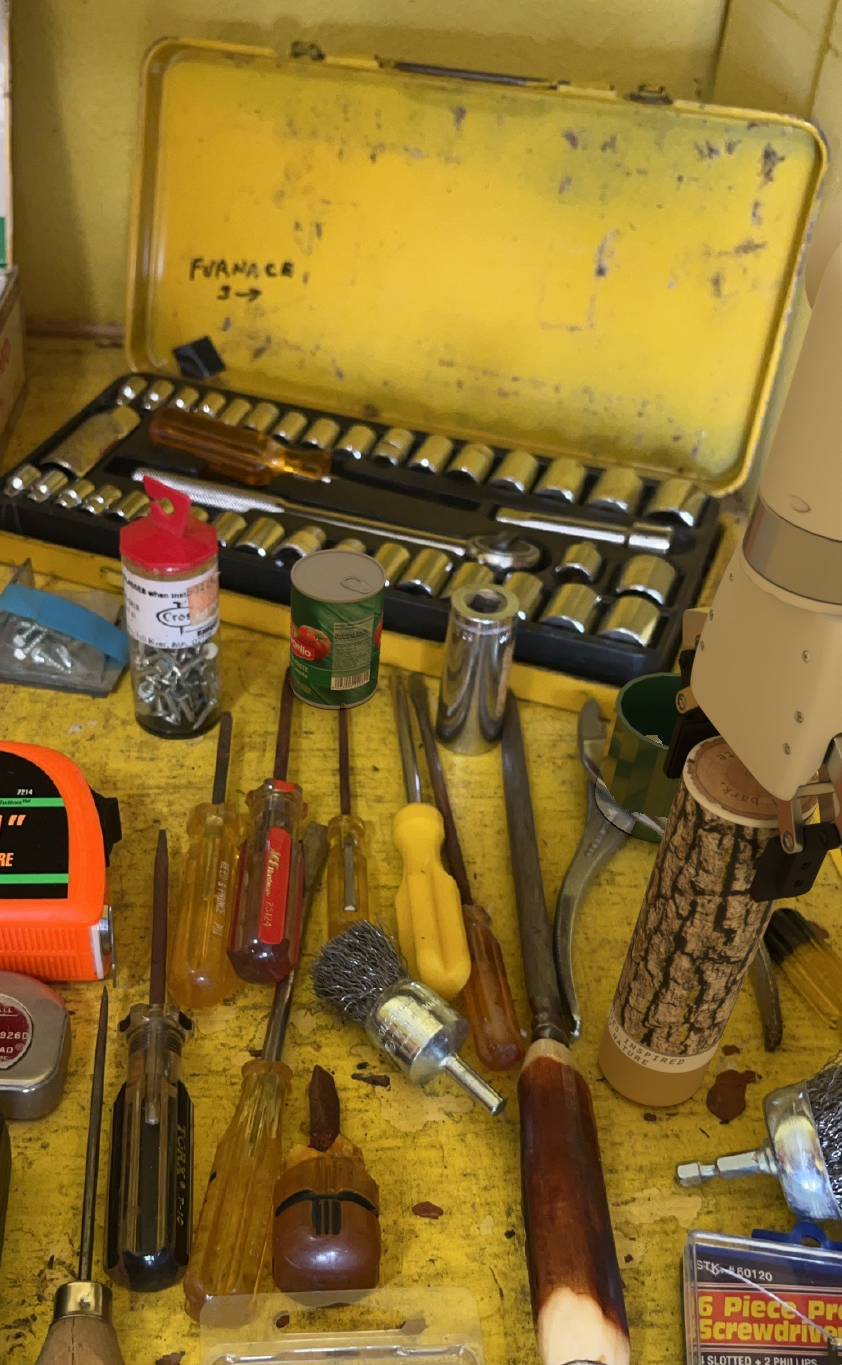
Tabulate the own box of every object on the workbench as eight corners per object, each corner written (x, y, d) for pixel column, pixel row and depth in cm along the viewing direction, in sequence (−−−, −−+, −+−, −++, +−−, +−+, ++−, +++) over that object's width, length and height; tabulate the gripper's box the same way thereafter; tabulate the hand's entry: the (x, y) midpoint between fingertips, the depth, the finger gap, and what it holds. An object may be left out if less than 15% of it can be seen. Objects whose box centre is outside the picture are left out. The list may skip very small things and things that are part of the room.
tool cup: (684, 754, 104) (711, 665, 98) (741, 832, 98) (773, 742, 91) (574, 771, 103) (595, 681, 96) (625, 852, 96) (650, 761, 90)
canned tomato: (270, 683, 110) (270, 573, 103) (329, 645, 114) (333, 537, 107) (338, 722, 107) (343, 611, 99) (396, 682, 111) (406, 572, 103)
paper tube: (695, 1125, 79) (818, 834, 61) (587, 1094, 80) (677, 802, 62) (707, 1043, 83) (824, 750, 65) (604, 1015, 85) (692, 722, 67)
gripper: (1038, 642, 49) (885, 936, 61) (809, 442, 61) (718, 722, 73) (870, 666, 48) (747, 962, 60) (668, 457, 60) (599, 740, 72)
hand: (731, 830), depth 66 cm, fingers open, 9 cm apart
